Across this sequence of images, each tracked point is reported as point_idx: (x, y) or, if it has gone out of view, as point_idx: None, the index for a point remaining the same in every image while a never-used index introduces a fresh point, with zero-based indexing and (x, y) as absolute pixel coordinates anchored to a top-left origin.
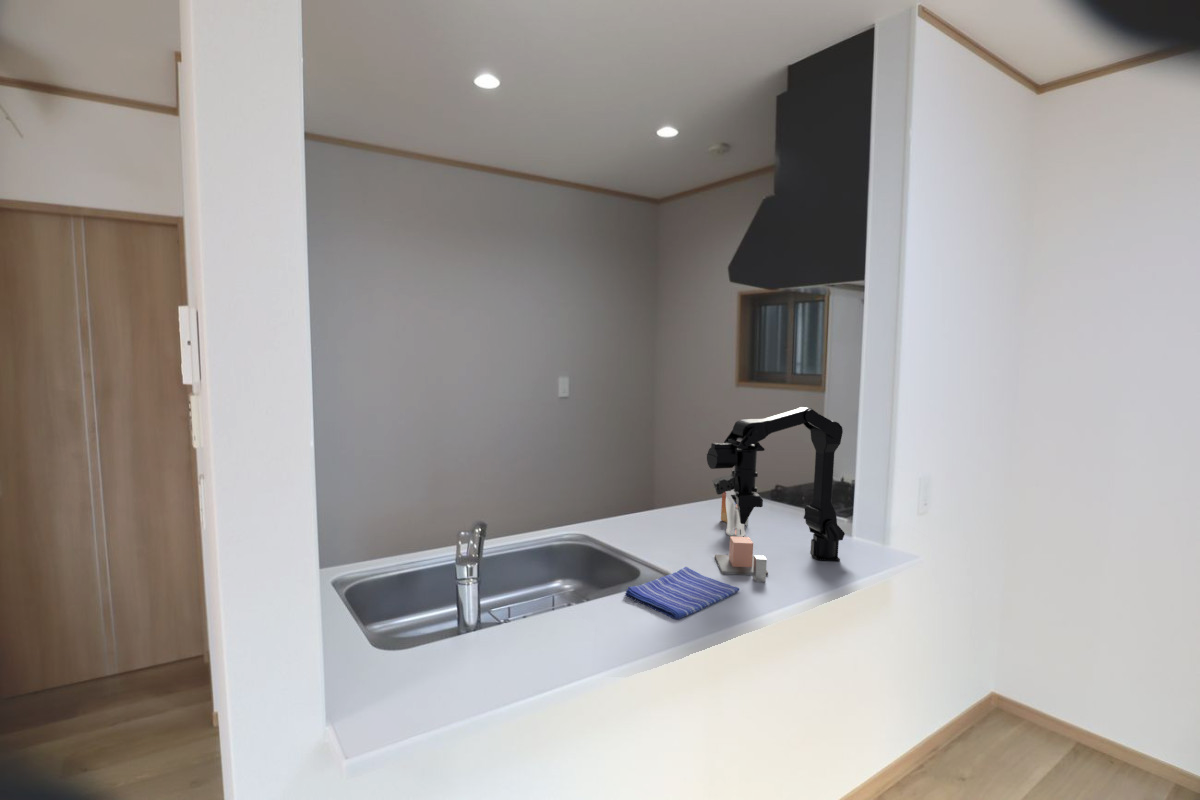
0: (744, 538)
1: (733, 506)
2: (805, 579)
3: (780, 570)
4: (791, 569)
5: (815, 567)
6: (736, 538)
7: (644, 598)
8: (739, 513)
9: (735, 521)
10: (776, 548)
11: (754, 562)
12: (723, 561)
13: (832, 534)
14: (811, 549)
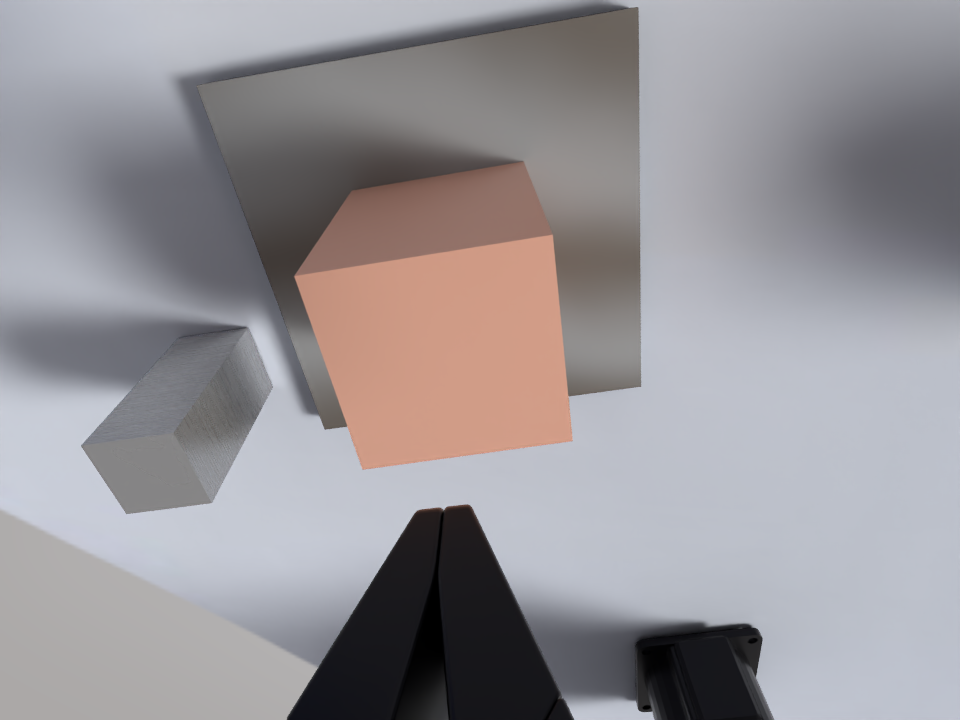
0: (506, 398)
1: None
2: (350, 573)
3: (446, 484)
4: None
5: (538, 622)
6: (479, 313)
7: None
8: (363, 685)
9: None
10: (841, 493)
11: (171, 402)
12: (455, 104)
13: None
14: (720, 659)
